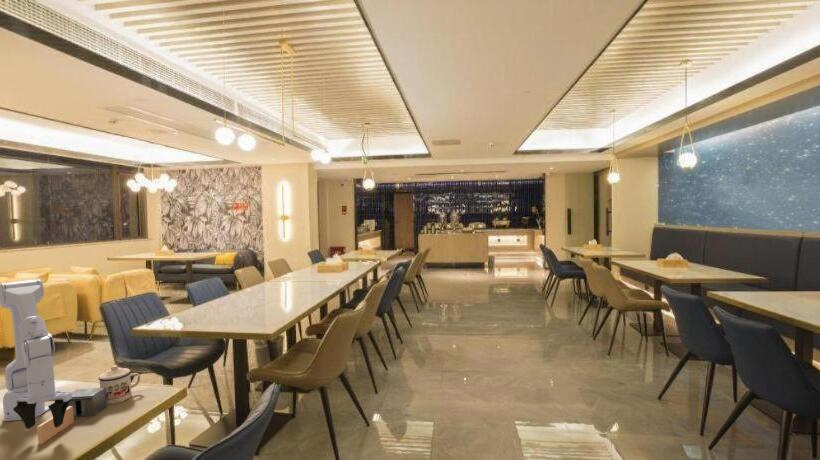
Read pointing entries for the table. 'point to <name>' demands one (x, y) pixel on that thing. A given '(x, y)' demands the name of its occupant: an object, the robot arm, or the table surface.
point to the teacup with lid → (117, 384)
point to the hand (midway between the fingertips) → (44, 426)
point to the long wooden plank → (48, 428)
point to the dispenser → (88, 401)
